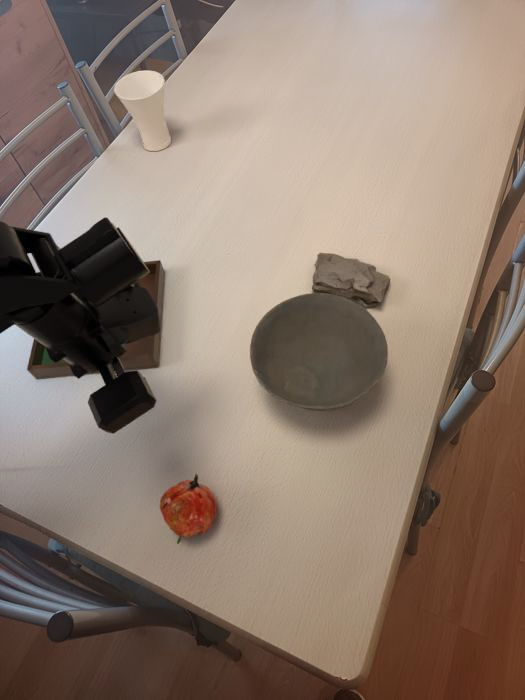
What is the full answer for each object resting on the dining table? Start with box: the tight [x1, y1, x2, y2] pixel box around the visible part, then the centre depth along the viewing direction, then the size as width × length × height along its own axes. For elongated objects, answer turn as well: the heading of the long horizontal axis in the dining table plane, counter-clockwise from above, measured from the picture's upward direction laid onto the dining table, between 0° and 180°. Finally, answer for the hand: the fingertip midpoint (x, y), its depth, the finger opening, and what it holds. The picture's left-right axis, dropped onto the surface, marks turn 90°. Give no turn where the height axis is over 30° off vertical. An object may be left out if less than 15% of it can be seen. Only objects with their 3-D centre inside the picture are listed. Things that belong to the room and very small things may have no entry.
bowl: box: [249, 292, 389, 412], centre depth 73 cm, size 19×19×10 cm
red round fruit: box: [159, 472, 218, 545], centre depth 65 cm, size 7×7×10 cm
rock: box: [311, 252, 391, 308], centre depth 85 cm, size 14×9×4 cm
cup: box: [113, 69, 172, 152], centre depth 107 cm, size 10×10×14 cm
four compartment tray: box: [26, 259, 166, 380], centre depth 86 cm, size 20×20×3 cm
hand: (133, 381), depth 63 cm, fingers open, 9 cm apart
